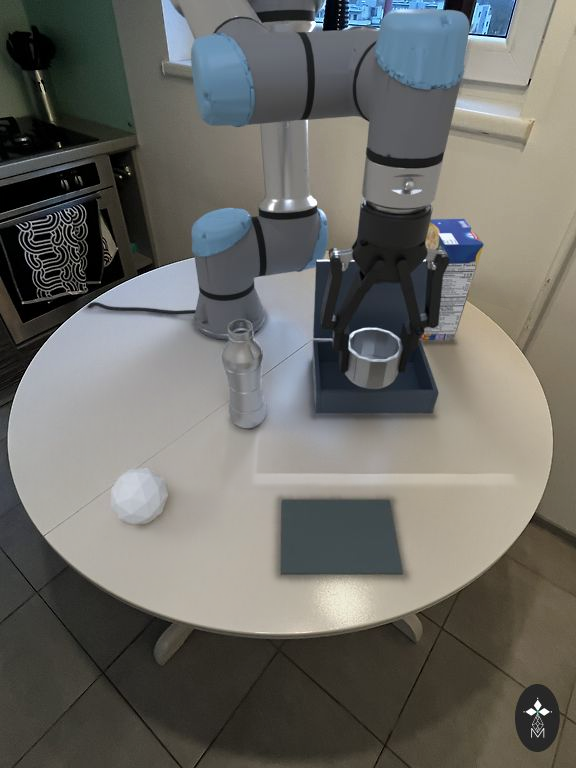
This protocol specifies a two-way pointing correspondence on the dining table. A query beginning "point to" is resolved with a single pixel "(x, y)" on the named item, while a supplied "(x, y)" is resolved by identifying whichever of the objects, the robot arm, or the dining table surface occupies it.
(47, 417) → the dining table surface
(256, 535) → the dining table surface
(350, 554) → the mat
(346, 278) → the chest lid
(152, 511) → the geometric ball
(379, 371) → the grey hollow cylinder
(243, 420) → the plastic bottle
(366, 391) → the box
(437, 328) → the blue cereal box
